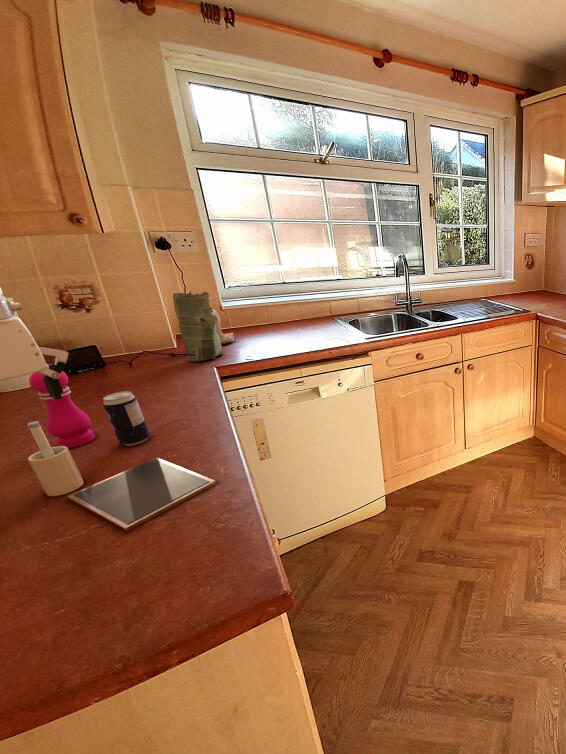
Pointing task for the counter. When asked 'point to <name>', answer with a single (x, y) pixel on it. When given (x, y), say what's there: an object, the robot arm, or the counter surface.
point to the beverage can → (126, 418)
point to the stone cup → (223, 337)
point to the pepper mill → (63, 414)
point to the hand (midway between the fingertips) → (21, 407)
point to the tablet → (141, 493)
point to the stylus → (41, 439)
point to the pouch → (197, 326)
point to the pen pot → (56, 471)
